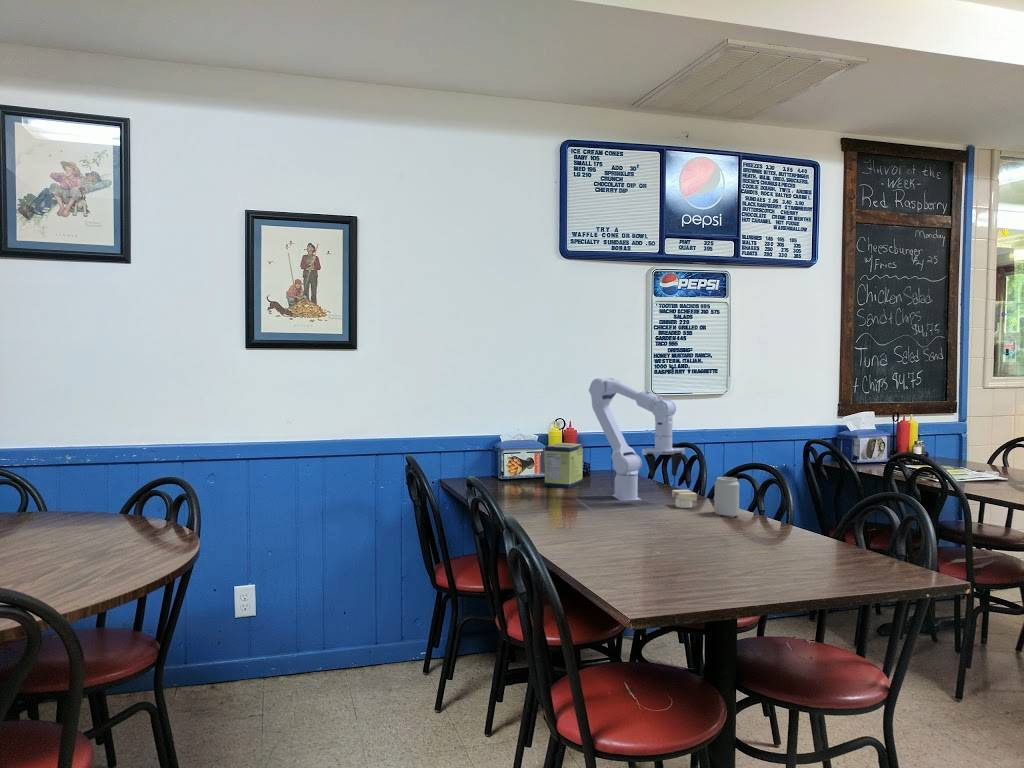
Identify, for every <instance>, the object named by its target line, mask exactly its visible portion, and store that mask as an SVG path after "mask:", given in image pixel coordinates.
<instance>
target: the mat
mask: <svg viewBox="0 0 1024 768" xmlns="http://www.w3.org/2000/svg"><path fill="white" fill-rule="evenodd" d="M630 504H631V505H633V506H634V507H636V508H637V509H639V510H641V511H651V510H653V511H655V510H657V511H658V510H668V508H667V507H666V506H663V505H662V504H660V503H658V502H656V501H645V502H643V501H642V502H641V501H640V502H630Z"/></svg>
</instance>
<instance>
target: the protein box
mask: <svg viewBox="0 0 1024 768" xmlns="http://www.w3.org/2000/svg"><path fill="white" fill-rule="evenodd" d="M583 445H584V444H583V443H569V442H556V443H553V444H550V445H545V446H544V487H548V486H551V488H561V489H562V488H564V489H571V488H573V487H575V486H577V484H578V485H580V484H582V483H583V471H584V470H583V467H584V466H583V460H584V459H583V457H584V455H583V453H584V452H583V450H584V447H583ZM581 482H582V483H581ZM579 483H580V484H579ZM570 487H571V488H570Z"/></svg>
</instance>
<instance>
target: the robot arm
mask: <svg viewBox="0 0 1024 768" xmlns="http://www.w3.org/2000/svg"><path fill="white" fill-rule="evenodd" d="M588 392H589V395H590V396H591V407H592V410H593V412H594V414H595V416H596V419H597V421H598V422H599V424H600V427H601V429H602V431H603V432H604V435H605V437H606V439H607V441H608V443H609V445H610V447H611V449H612V454H611V456H610V457H611V461H612V468H613V469H614V471H615V472H616V473H615V474H616V475H615V478H614V494H611V496H612V497H614V498H616V499H617V500H619V501H635V500H636V501H637V500H640V501H641V500H642V499H641V498H640V497H638V496H639V495H638V494H639V493H638V490H639V489H638V483H639V482H638V481H639V480H638V479H639V478H638V474H639V471H640V469H642V465H643V462H642V458H641V457H640V456H639V455H638V454H637V452H635V449H634V448H632V447H631V446H629V445H628V443H627V442H626V439H625V437H624V435H623V433H622V431H621V429H620V427H619V425H618V423H617V421H616V419H615V417H614V415H613V413H612V410H611V408H610V403H611V402H612V401H613V399H614V397H615V396H616V394H618V395H621V396H624V397H626V398H629V399H630V400H634V401H635V403H636V405H637V406H638V407H640V408H642V409H644V410H646V411H648V412H650V413H652V415H653V416H654V421H655V423H654V425H655V426H654V431H655V432H654V447H647V448H641V455H643V457H644V459H645V461H646V464H647V466H648V469H649V474H650V476H651V477H655V472H656V471H655V470H656V469H655V466H656V459H657V458H656V456H655V455H670V459H671V476H674V477H676V476H677V472H678V469H679V466H680V464H681V462H682V460H683V459H684V455H685V454H686V449H685V448H683V447H673V419H674V418H673V416H674V415H675V413H676V411H677V410H676V409H677V406H676V404H675V403H674V402H673V401H672V400H671V399H663V397H662V396H657V395H655V394H653V393H652V391H651V390H642V391H639V390H637V389H635V388H634V387H631V386H630V385H628V384H625V383H624V382H622V381H620V380H619V379H615V378H613V377H609V378H594V379H593V380H592V381H591V383H590V385H589V388H588Z"/></svg>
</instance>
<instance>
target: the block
mask: <svg viewBox="0 0 1024 768" xmlns="http://www.w3.org/2000/svg"><path fill="white" fill-rule="evenodd" d="M671 495H672V496H671V498H673V499H675V500H676V499H677V500H679V501H692V502H697V501H698V500H697V499H698V493H696V492H694V491H691V490H689V489H672V492H671Z"/></svg>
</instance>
